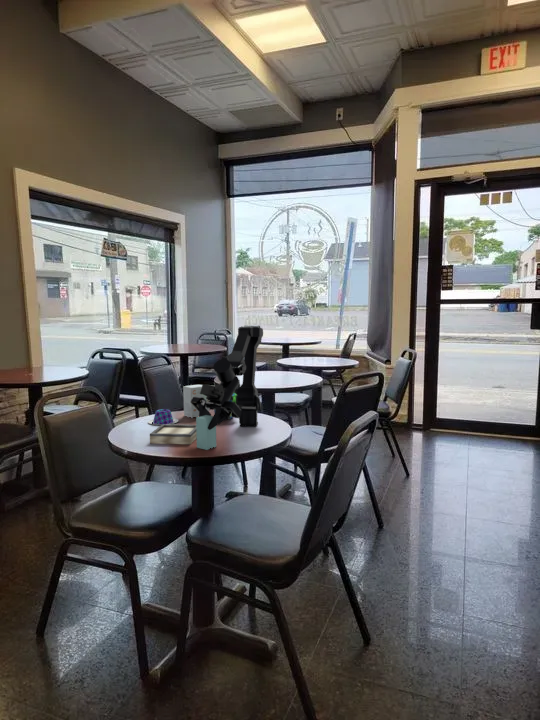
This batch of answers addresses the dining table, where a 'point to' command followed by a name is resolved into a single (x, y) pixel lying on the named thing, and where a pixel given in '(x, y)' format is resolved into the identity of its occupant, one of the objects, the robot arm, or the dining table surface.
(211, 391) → the robot arm
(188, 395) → the small box
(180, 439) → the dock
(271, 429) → the dining table surface
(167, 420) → the checkered hat
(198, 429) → the teal block
